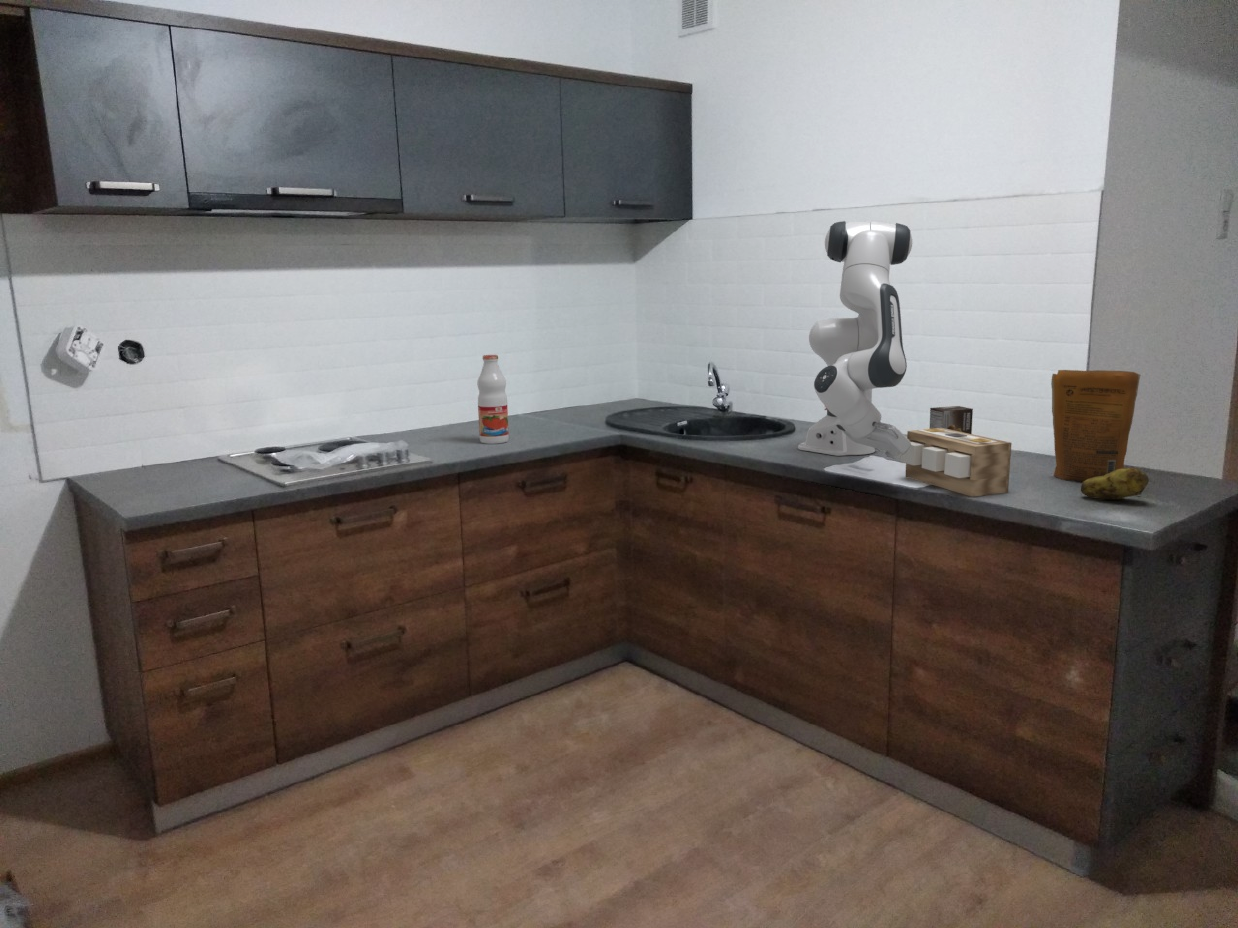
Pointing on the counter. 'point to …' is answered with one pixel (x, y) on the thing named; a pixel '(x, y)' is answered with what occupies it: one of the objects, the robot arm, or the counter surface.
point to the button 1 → (913, 454)
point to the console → (985, 463)
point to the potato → (1116, 484)
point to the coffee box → (952, 418)
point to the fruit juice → (492, 403)
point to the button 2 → (958, 464)
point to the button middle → (934, 458)
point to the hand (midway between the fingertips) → (893, 455)
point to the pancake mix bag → (1091, 421)
